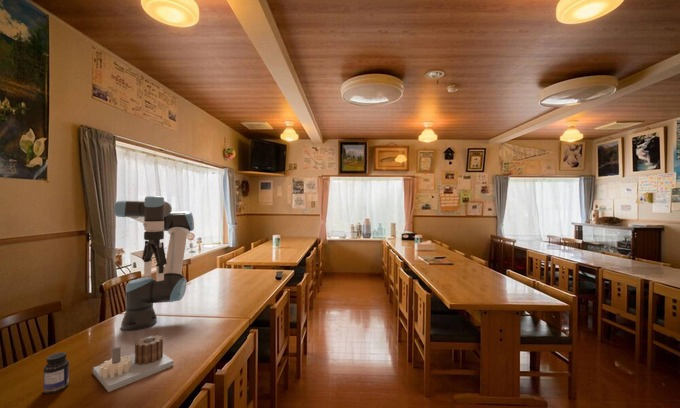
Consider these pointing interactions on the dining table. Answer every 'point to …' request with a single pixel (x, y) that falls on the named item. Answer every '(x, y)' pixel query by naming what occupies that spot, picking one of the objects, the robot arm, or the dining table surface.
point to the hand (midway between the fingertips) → (153, 278)
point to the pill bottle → (56, 373)
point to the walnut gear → (148, 350)
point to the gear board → (127, 369)
